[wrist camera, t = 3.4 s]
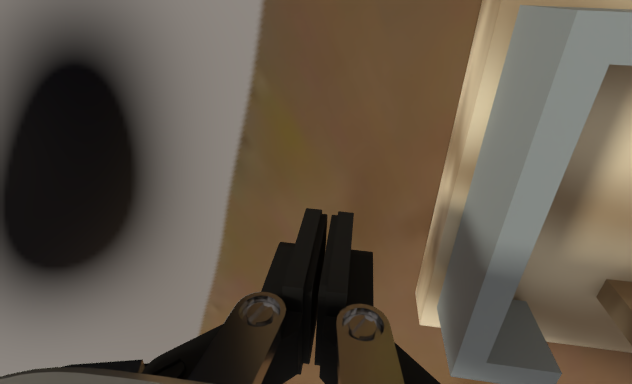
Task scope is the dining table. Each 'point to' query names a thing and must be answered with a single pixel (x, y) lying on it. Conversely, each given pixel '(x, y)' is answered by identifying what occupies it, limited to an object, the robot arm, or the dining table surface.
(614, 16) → the grey bracket
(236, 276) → the dining table surface
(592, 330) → the board
